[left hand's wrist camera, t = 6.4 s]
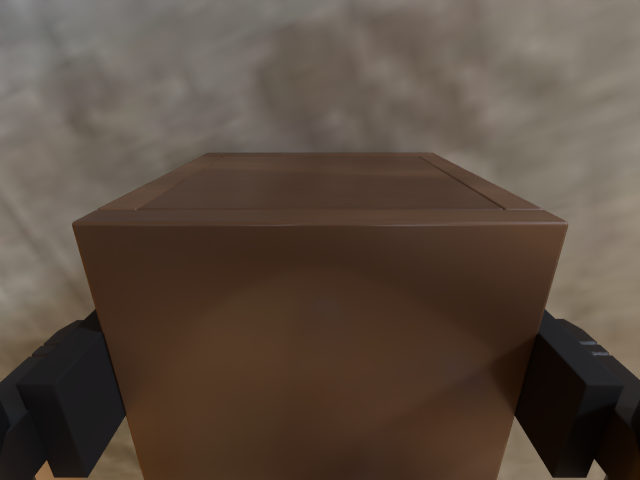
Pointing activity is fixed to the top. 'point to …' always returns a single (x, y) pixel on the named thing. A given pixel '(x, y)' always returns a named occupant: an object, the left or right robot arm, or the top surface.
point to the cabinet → (320, 315)
